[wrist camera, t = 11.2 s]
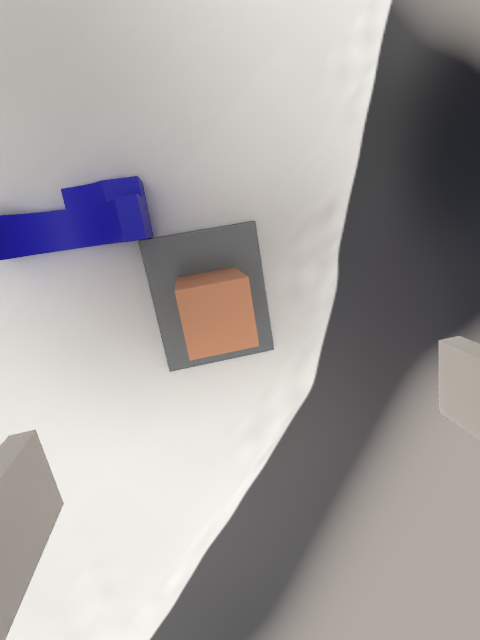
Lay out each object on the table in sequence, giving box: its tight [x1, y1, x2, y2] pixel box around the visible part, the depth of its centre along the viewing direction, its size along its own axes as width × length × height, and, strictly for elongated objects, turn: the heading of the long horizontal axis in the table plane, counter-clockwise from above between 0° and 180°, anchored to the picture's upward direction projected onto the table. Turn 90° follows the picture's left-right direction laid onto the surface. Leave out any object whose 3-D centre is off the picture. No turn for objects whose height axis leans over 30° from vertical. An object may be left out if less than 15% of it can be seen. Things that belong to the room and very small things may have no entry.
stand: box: [139, 221, 274, 372], centre depth 29 cm, size 12×10×6 cm
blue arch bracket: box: [0, 176, 153, 260], centre depth 26 cm, size 12×4×6 cm, turn 98°
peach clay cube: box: [175, 267, 259, 361], centre depth 28 cm, size 5×5×7 cm
